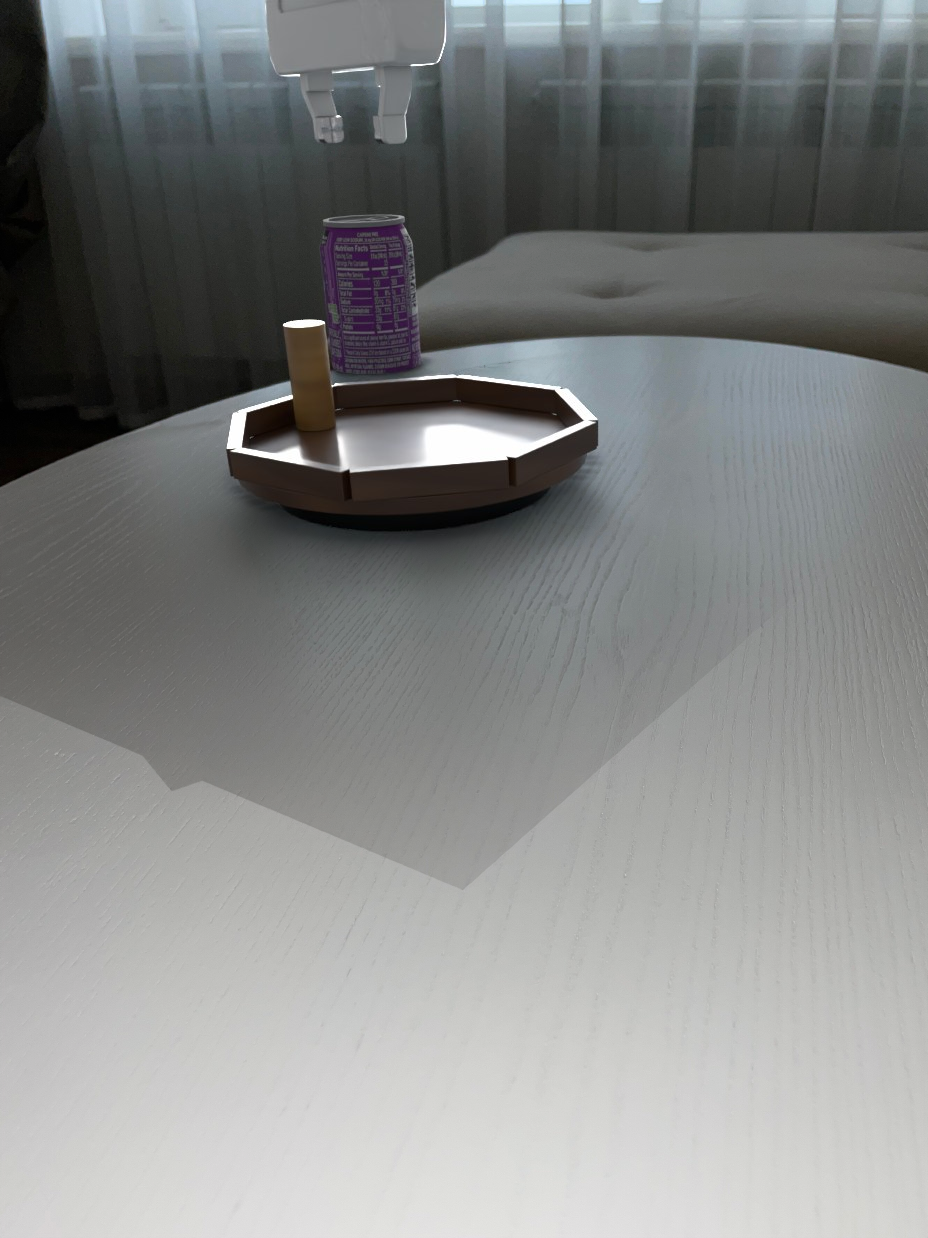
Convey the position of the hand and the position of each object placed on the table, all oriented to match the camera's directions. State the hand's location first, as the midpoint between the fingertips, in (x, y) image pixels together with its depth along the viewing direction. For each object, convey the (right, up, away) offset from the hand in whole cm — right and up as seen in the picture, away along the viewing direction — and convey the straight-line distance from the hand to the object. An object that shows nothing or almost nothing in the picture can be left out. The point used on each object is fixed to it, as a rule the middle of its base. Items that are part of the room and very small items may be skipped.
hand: (359, 143), depth 81 cm
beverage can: (0, -15, +8) cm, 17 cm away
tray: (+6, -27, -17) cm, 32 cm away
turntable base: (+6, -28, -16) cm, 33 cm away
